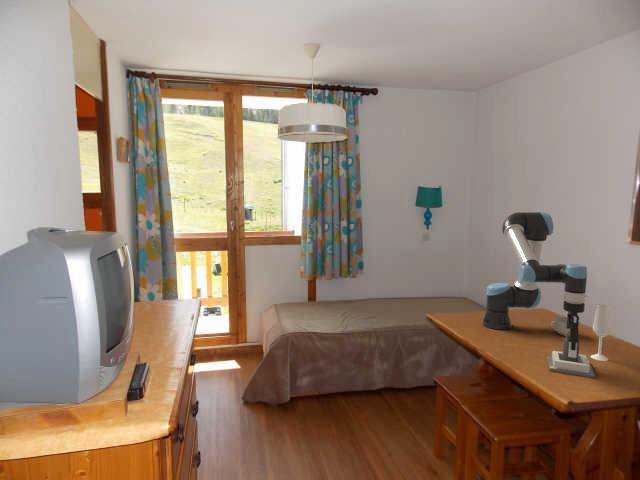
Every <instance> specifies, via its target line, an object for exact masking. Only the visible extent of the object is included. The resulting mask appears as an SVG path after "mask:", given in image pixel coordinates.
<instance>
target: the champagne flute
mask: <svg viewBox="0 0 640 480" xmlns="http://www.w3.org/2000/svg"><path fill="white" fill-rule="evenodd" d="M592 331H593V332H594V335H596V336H598V337H599V338H598V346H597V347H598V349H597V350H598V351H597V353H595V354H592V355H590V358H591V359H593V360H596V361H601V362H607V361H608V360H609V358H608V357H606V356H605V355H603V354H602V349H603V348H602V346H603V338H605V337H607V336H608V335H609V334H610V333H611V332H612V331H611V307H610V305H608V304H603V303H602V304H601V303H600V304H596V308H595V314H594V319H593V325H592Z"/></svg>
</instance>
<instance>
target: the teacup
mask: <svg viewBox="0 0 640 480" xmlns="http://www.w3.org/2000/svg"><path fill="white" fill-rule="evenodd" d="M549 325H550V327H551V329H553V330H554V331H556V332H557V333H558V334H559V335H561V336H565V333H566V326H567V316H556V317H555V318H554V320H551V321H550V324H549ZM565 337H566V336H565Z"/></svg>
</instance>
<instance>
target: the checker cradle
mask: <svg viewBox="0 0 640 480" xmlns="http://www.w3.org/2000/svg"><path fill="white" fill-rule="evenodd" d="M562 353H563V351H559V350H558V351H557V350H552V353H551V355H547V356H546V358H547V363H548V370H549V372H553V373H554V372H555V373H559V374H561V373H562V374H566V375H573V376H578V377H586V378H591V379H595V378H596V375H595V373H594V370H593V367H592V365H591V363H590V361H589V360H588V358H587V355H586V354H580V353H579V356H578V363H577V362H570V361H563V360H562Z"/></svg>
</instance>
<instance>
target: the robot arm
mask: <svg viewBox="0 0 640 480" xmlns="http://www.w3.org/2000/svg"><path fill="white" fill-rule="evenodd" d="M501 228H502V229H501V230H502V234H503V236H504V238H505V239H506V240H508V242H509V244H510V246H511V249H512V250H513V253H514V255H515V257H516V260H517V261H518V264H519V265H520V266H519V267H518V272H517V273H518V277H517V280H515V281H514V283H513V286H512V285H510V284H509V283H507V282H496V283H495V282H494V283H491V284H488V286H487V287H486V300H485V301H486V303H485V304H486V305H485V312H484V315H483V316H482V319H481V324H482V326H484V327H486V328H488V329H493V330H494V329H495V330H509V329H512V320H511V316H510V313H509V311H510V309H511V308H514V309H516V308H517V309H534V308H536V307H538V305H539V304H540V303H541V298H542V295H541V294H542V292H541V288H540V287H539V286H538V284H537V283H556V284H557V283H559V284H561V283H562V284H564V291H563V292H564V293H563V300H564V301H563V306H562V307H563V308H562V309H563V311H565V312H567V314H566V317H567V326H566V329H570V340H568V342H569V354H568V357H574V358H576V354H577V343H578V341H579V338H578V335H579V333H578V331H579V324H580V316H579V313H580V314H582V313H584V312H585V306H586V305H585V302H586V298H587V297H588V295H587V294H586V292H587V291H586V290H587V289H586V288H587V280H588V268H587V266H586V265H583V264H580V263H579V264H578V263H577V264H576V263H568V264H567V265H566V264H562V263H557V264H555V265H554V264H552V265H551V264H549V265H546V264H540V258H541V253H542V248H543V243H544V242H546V241H547V239H548V238H547V237H548V236H551V235H552V234H553V233H554V221H553V218H552V216H551V215H550V214H549V213H548V212H541V211H535V212H534V211H530V212H526V211H525V212H523V211H521V212H520V211H518V212H513V213H511V214H510V215H509V216H506V218H505V219H504V221H503V223H502V226H501Z"/></svg>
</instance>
